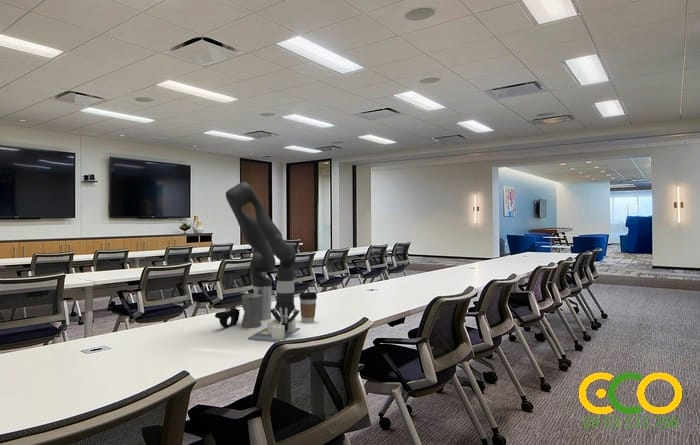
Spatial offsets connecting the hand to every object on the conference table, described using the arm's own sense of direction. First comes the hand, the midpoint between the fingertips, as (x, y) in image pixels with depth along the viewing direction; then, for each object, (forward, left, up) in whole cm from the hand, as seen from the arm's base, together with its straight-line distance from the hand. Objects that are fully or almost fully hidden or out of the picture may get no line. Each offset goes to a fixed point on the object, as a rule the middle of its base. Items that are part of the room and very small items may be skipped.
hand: (284, 331), depth 188 cm
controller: (-30, +7, -3) cm, 31 cm away
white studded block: (0, +6, -1) cm, 6 cm away
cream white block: (-5, 0, -1) cm, 5 cm away
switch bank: (-4, 0, -2) cm, 5 cm away
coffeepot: (-20, +11, -3) cm, 23 cm away
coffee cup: (+2, +26, -3) cm, 26 cm away
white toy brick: (0, -7, -1) cm, 7 cm away
